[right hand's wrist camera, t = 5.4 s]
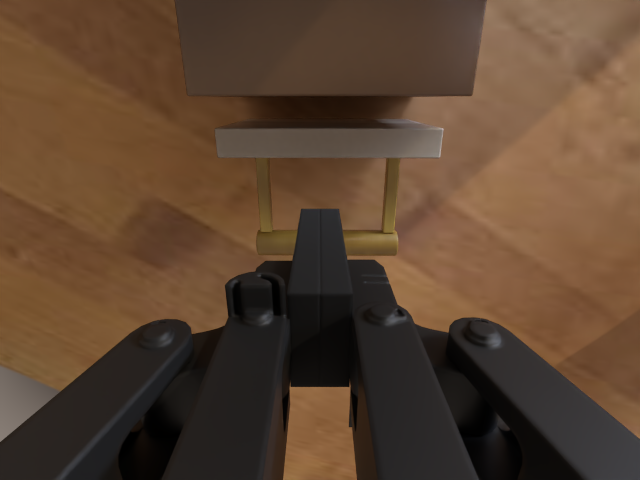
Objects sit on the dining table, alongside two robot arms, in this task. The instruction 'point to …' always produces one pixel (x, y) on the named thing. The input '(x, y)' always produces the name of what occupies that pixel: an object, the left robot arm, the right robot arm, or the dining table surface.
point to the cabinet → (330, 47)
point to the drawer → (329, 142)
